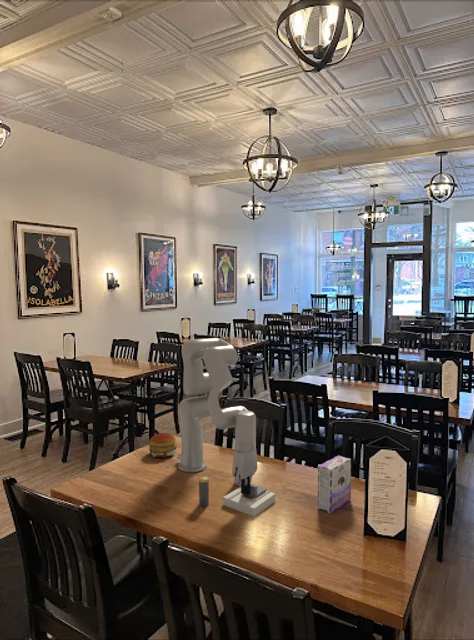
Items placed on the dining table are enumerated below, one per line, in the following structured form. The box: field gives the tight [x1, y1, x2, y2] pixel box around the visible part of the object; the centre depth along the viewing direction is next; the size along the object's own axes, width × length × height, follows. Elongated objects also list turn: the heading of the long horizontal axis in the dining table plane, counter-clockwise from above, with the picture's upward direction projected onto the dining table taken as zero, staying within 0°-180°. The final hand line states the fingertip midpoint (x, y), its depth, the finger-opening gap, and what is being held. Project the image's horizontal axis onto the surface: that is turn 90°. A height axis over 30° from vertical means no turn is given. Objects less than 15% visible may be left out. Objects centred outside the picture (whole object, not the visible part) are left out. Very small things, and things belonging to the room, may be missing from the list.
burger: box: [148, 432, 178, 458], centre depth 214 cm, size 13×14×10 cm
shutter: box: [249, 483, 268, 497], centre depth 168 cm, size 7×7×4 cm
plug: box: [198, 475, 210, 508], centre depth 164 cm, size 4×4×10 cm
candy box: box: [317, 455, 352, 514], centre depth 164 cm, size 14×6×16 cm, turn 134°
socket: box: [222, 486, 276, 517], centre depth 166 cm, size 14×14×3 cm
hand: (245, 493), depth 163 cm, fingers closed
